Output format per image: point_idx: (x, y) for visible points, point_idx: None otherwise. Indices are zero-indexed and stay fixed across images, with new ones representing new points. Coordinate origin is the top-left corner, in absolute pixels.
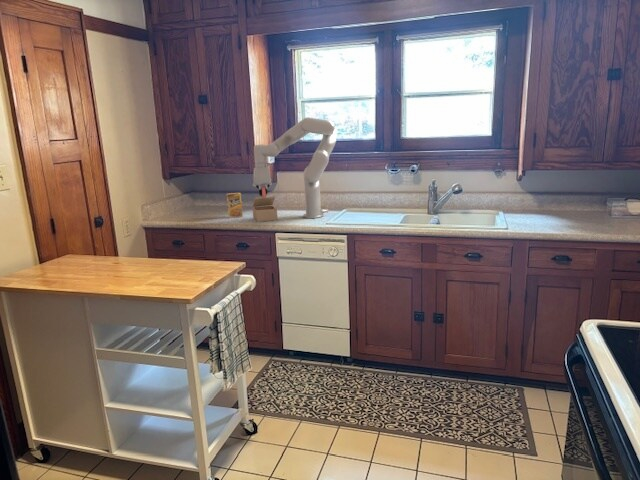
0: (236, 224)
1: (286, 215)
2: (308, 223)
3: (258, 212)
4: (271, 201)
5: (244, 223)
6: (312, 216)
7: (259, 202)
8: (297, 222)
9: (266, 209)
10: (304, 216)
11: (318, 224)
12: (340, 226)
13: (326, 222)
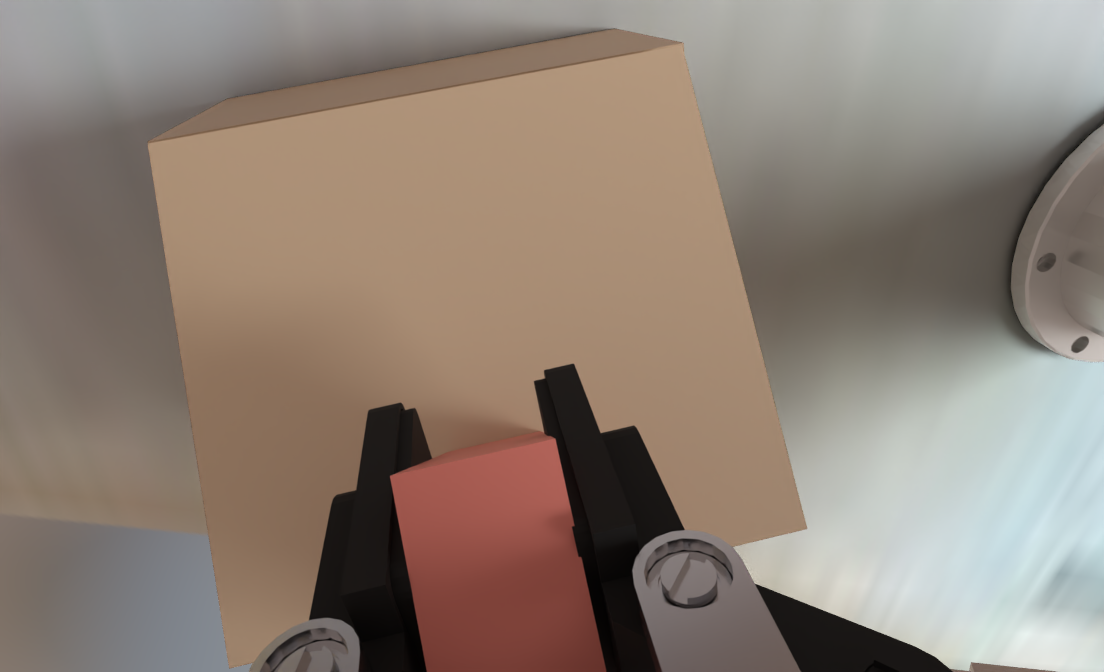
0: (52, 492)
1: (840, 7)
2: (922, 554)
3: None
4: (677, 282)
5: (166, 453)
6: (1090, 352)
7: (356, 351)
8: (841, 501)
9: None
10: (1020, 291)
11: (982, 597)
12: (1090, 666)
13: (1081, 539)
